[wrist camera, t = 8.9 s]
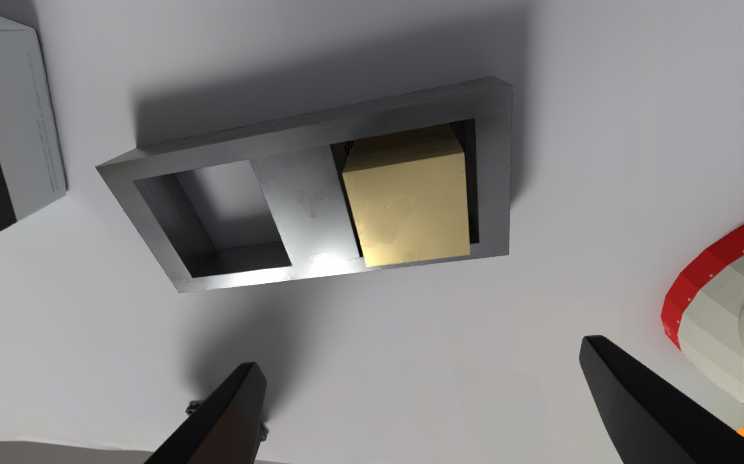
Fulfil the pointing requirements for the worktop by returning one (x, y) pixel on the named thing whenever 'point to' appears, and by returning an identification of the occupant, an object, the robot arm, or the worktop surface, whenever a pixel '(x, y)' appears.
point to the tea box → (26, 128)
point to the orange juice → (741, 432)
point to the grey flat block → (311, 186)
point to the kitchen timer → (711, 313)
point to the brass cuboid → (409, 195)
